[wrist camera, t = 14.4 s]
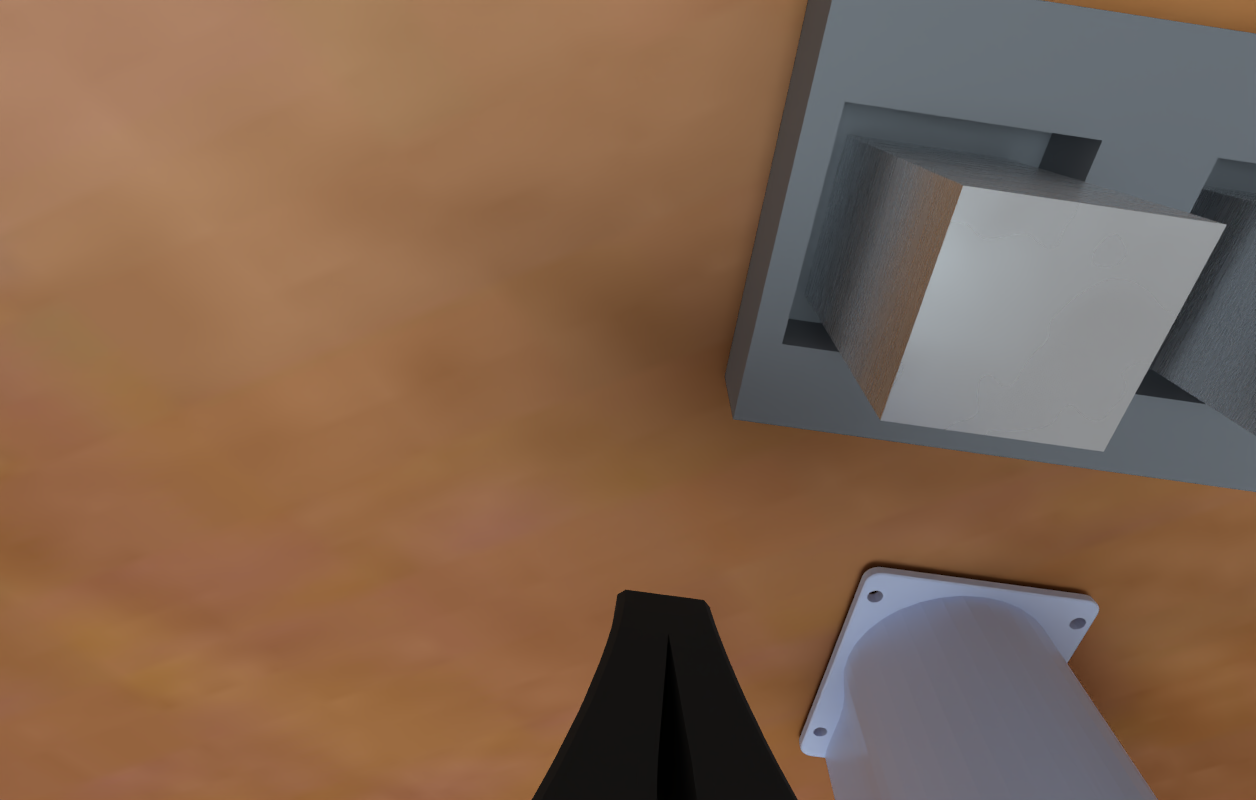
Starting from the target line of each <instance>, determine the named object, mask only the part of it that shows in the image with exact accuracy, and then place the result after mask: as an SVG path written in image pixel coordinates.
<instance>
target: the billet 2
mask: <svg viewBox="0 0 1256 800" xmlns="http://www.w3.org/2000/svg"><path fill="white" fill-rule="evenodd" d="M1190 214H1193V215H1197V216H1200V217H1203V218H1207V219H1210V220H1213V221H1217V222H1220V223H1223V224H1227V225H1226V227H1225V229H1224V231H1223V233H1222V235H1221V237H1220V238H1219V240H1218V242H1217V244H1216V246H1215V248H1214V249H1213V251H1212V253H1211V255H1210V257H1209V259H1208V260H1207V262H1206V264H1205V266H1204V268H1203V270H1202V272H1201V273H1200V275H1199V277H1198V279H1197V281H1196V283H1195V284H1194V286H1193V288H1192V290H1191V292H1190V294H1189V295H1188V297H1187V299H1186V301H1185V303H1184V305H1183V307H1182V308H1181V310H1180V312H1179V314H1178V316H1177V318H1176V319H1175V321H1174V323H1173V325H1172V327H1171V329H1170V330H1169V332H1168V334H1167V336H1166V338H1165V340H1164V341H1163V343H1162V345H1161V347H1160V349H1159V351H1158V353H1157V354H1156V356H1155V358H1154V360H1153V362H1152V364H1151V365H1150V367H1149V368H1151V369H1152V370H1154V371H1155V372H1157V373H1158V374H1160V375H1161V376H1163V377H1165V378H1166V379H1168V380H1169V381H1171V382H1172V383H1174V384H1175V385H1177V386H1179V387H1180V388H1182V389H1183V390H1185V391H1186V392H1188V393H1190V394H1191V395H1193V396H1194V397H1196V398H1197V399H1199V400H1200V401H1202V402H1204V403H1205V404H1207V405H1208V406H1210V407H1211V408H1213V409H1214V410H1216V411H1218V412H1219V413H1221V414H1222V415H1224V416H1225V417H1227V418H1229V419H1230V420H1232V421H1233V422H1235V423H1236V424H1238V425H1239V426H1241V427H1243V428H1244V429H1246V430H1247V431H1249V432H1250V433H1252V434H1253V435H1255V436H1256V194H1253V193H1246V192H1240V191H1233V190H1226V189H1219V188H1213V187H1206V186H1203V188H1202V190H1201V192H1200V194H1199V196H1198V198H1197V200H1196V202H1195V204H1194V206H1193V208H1192V210H1191V212H1190Z"/></svg>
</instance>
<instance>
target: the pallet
mask: <svg viewBox="0 0 1256 800" xmlns="http://www.w3.org/2000/svg"><path fill="white" fill-rule="evenodd" d="M846 135H850V136H857V137H863V138H870V139H877V140H884V141H890V142H897V143H904V144H910V145H917V146H924V147H931V148H937V149H944V150H951V151H957V152H964V153H971V154H977V155H984V156H991V157H998V158H1004V159H1010V160H1014V161H1017V162H1020V163H1024V164H1027V165H1030V166H1034V167H1037V168H1040V169H1044V170H1047V171H1050V172H1054V173H1057V174H1060V175H1064V176H1067V177H1070V178H1074V179H1077V180H1080V181H1084V182H1087V183H1090V184H1094V185H1097V186H1100V187H1104V188H1107V189H1110V190H1113V191H1117V192H1120V193H1123V194H1127V195H1130V196H1133V197H1137V198H1140V199H1143V200H1147V201H1150V202H1153V203H1157V204H1160V205H1163V206H1167V207H1170V208H1173V209H1177V210H1180V211H1183V212H1187V213H1190V212H1191V210H1192V208H1193V206H1194V204H1195V202H1196V200H1197V198H1198V196H1199V194H1200V192H1201V190H1202V188H1203V186H1206V187H1213V188H1219V189H1226V190H1233V191H1240V192H1246V193H1253V194H1256V34H1254V33H1248V32H1242V31H1235V30H1229V29H1222V28H1216V27H1209V26H1203V25H1196V24H1190V23H1183V22H1177V21H1170V20H1164V19H1157V18H1151V17H1145V16H1138V15H1132V14H1125V13H1119V12H1112V11H1106V10H1099V9H1093V8H1086V7H1080V6H1073V5H1067V4H1060V3H1054V2H1048V1H1041V0H808V4H807V8H806V13H805V17H804V22H803V26H802V31H801V35H800V40H799V44H798V49H797V53H796V58H795V62H794V67H793V71H792V76H791V80H790V85H789V89H788V94H787V98H786V103H785V107H784V112H783V116H782V121H781V125H780V130H779V134H778V139H777V143H776V148H775V152H774V157H773V161H772V166H771V170H770V175H769V179H768V184H767V188H766V193H765V197H764V202H763V206H762V211H761V215H760V220H759V225H758V229H757V234H756V238H755V243H754V247H753V252H752V256H751V261H750V265H749V270H748V274H747V279H746V283H745V288H744V292H743V297H742V301H741V306H740V310H739V315H738V319H737V324H736V328H735V333H734V337H733V342H732V346H731V351H730V355H729V360H728V364H727V369H726V373H725V381H726V386H727V391H728V396H729V401H730V406H731V411H732V416H733V419H735V420H742V421H750V422H757V423H764V424H771V425H778V426H786V427H793V428H800V429H807V430H814V431H822V432H829V433H836V434H843V435H850V436H857V437H865V438H872V439H879V440H886V441H893V442H901V443H908V444H915V445H922V446H929V447H937V448H944V449H951V450H958V451H965V452H972V453H980V454H987V455H994V456H1001V457H1008V458H1016V459H1023V460H1030V461H1037V462H1044V463H1052V464H1059V465H1066V466H1073V467H1080V468H1087V469H1095V470H1102V471H1109V472H1116V473H1123V474H1131V475H1138V476H1145V477H1152V478H1159V479H1167V480H1174V481H1181V482H1188V483H1195V484H1203V485H1210V486H1217V487H1224V488H1231V489H1238V490H1246V491H1253V492H1256V436H1255V435H1253V434H1252V433H1250V432H1249V431H1247V430H1246V429H1244V428H1243V427H1241V426H1239V425H1238V424H1236V423H1235V422H1233V421H1232V420H1230V419H1229V418H1227V417H1225V416H1224V415H1222V414H1221V413H1219V412H1218V411H1216V410H1214V409H1213V408H1211V407H1210V406H1208V405H1207V404H1205V403H1204V402H1202V401H1200V400H1199V399H1197V398H1196V397H1194V396H1193V395H1191V394H1190V393H1188V392H1186V391H1185V390H1183V389H1182V388H1180V387H1179V386H1177V385H1175V384H1174V383H1172V382H1171V381H1169V380H1168V379H1166V378H1165V377H1163V376H1161V375H1160V374H1158V373H1157V372H1155V371H1154V370H1152V369H1151V368H1149V369H1148V371H1147V373H1146V375H1145V376H1144V378H1143V380H1142V382H1141V384H1140V386H1139V388H1138V389H1137V391H1136V393H1135V395H1134V397H1133V399H1132V400H1131V402H1130V404H1129V406H1128V408H1127V410H1126V411H1125V413H1124V415H1123V417H1122V419H1121V421H1120V423H1119V424H1118V426H1117V428H1116V430H1115V432H1114V434H1113V435H1112V437H1111V439H1110V441H1109V443H1108V445H1107V446H1106V448H1105V450H1104V452H1102V451H1095V450H1088V449H1081V448H1073V447H1066V446H1059V445H1052V444H1045V443H1038V442H1031V441H1023V440H1016V439H1009V438H1002V437H995V436H988V435H980V434H973V433H966V432H959V431H952V430H945V429H938V428H930V427H923V426H916V425H909V424H902V423H895V422H887V421H880V419H879V417H878V416H877V414H876V412H875V411H874V409H873V407H872V406H871V404H870V402H869V401H868V399H867V397H866V396H865V394H864V392H863V391H862V389H861V387H860V386H859V384H858V382H857V381H856V379H855V377H854V376H853V374H852V372H851V371H850V369H849V367H848V366H847V364H846V362H845V361H844V359H843V357H842V356H841V354H840V352H839V351H838V349H837V347H836V346H835V344H834V342H833V341H832V339H831V337H830V336H829V334H828V332H827V331H826V329H825V327H824V326H823V324H822V322H821V321H820V319H819V317H818V316H817V314H816V312H815V311H814V309H813V307H812V306H811V304H810V302H809V301H808V299H807V297H806V296H805V294H804V293H805V289H806V285H807V282H808V278H809V274H810V270H811V267H812V263H813V259H814V255H815V252H816V248H817V244H818V240H819V236H820V233H821V229H822V225H823V221H824V218H825V214H826V210H827V206H828V203H829V199H830V195H831V191H832V188H833V184H834V180H835V176H836V173H837V169H838V165H839V161H840V158H841V154H842V150H843V146H844V143H845V139H846Z"/></svg>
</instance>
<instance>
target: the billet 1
mask: <svg viewBox="0 0 1256 800" xmlns="http://www.w3.org/2000/svg"><path fill="white" fill-rule="evenodd" d="M1226 225H1227V224H1223V223H1220V222H1217V221H1213V220H1210V219H1207V218H1203V217H1200V216H1197V215H1193V214H1190V213H1187V212H1183V211H1180V210H1177V209H1173V208H1170V207H1167V206H1163V205H1160V204H1157V203H1153V202H1150V201H1147V200H1143V199H1140V198H1137V197H1133V196H1130V195H1127V194H1123V193H1120V192H1117V191H1113V190H1110V189H1107V188H1104V187H1100V186H1097V185H1094V184H1090V183H1087V182H1084V181H1080V180H1077V179H1074V178H1070V177H1067V176H1064V175H1060V174H1057V173H1054V172H1050V171H1047V170H1044V169H1040V168H1037V167H1034V166H1030V165H1027V164H1024V163H1020V162H1017V161H1014V160H1010V159H1004V158H998V157H991V156H984V155H977V154H971V153H964V152H957V151H951V150H944V149H937V148H931V147H924V146H917V145H910V144H904V143H897V142H890V141H884V140H877V139H870V138H863V137H857V136H850V135H846V139H845V143H844V146H843V150H842V154H841V158H840V161H839V165H838V169H837V173H836V176H835V180H834V184H833V188H832V191H831V195H830V199H829V203H828V206H827V210H826V214H825V218H824V221H823V225H822V229H821V233H820V236H819V240H818V244H817V248H816V252H815V255H814V259H813V263H812V267H811V270H810V274H809V278H808V282H807V285H806V289H805V293H804V294H805V296H806V297H807V299H808V301H809V302H810V304H811V306H812V307H813V309H814V311H815V312H816V314H817V316H818V317H819V319H820V321H821V322H822V324H823V326H824V327H825V329H826V331H827V332H828V334H829V336H830V337H831V339H832V341H833V342H834V344H835V346H836V347H837V349H838V351H839V352H840V354H841V356H842V357H843V359H844V361H845V362H846V364H847V366H848V367H849V369H850V371H851V372H852V374H853V376H854V377H855V379H856V381H857V382H858V384H859V386H860V387H861V389H862V391H863V392H864V394H865V396H866V397H867V399H868V401H869V402H870V404H871V406H872V407H873V409H874V411H875V412H876V414H877V416H878V417H879V419H880V421H887V422H895V423H902V424H909V425H916V426H923V427H930V428H938V429H945V430H952V431H959V432H966V433H973V434H980V435H988V436H995V437H1002V438H1009V439H1016V440H1023V441H1031V442H1038V443H1045V444H1052V445H1059V446H1066V447H1073V448H1081V449H1088V450H1095V451H1102V452H1104V450H1105V448H1106V446H1107V445H1108V443H1109V441H1110V439H1111V437H1112V435H1113V434H1114V432H1115V430H1116V428H1117V426H1118V424H1119V423H1120V421H1121V419H1122V417H1123V415H1124V413H1125V411H1126V410H1127V408H1128V406H1129V404H1130V402H1131V400H1132V399H1133V397H1134V395H1135V393H1136V391H1137V389H1138V388H1139V386H1140V384H1141V382H1142V380H1143V378H1144V376H1145V375H1146V373H1147V371H1148V369H1149V367H1150V365H1151V364H1152V362H1153V360H1154V358H1155V356H1156V354H1157V353H1158V351H1159V349H1160V347H1161V345H1162V343H1163V341H1164V340H1165V338H1166V336H1167V334H1168V332H1169V330H1170V329H1171V327H1172V325H1173V323H1174V321H1175V319H1176V318H1177V316H1178V314H1179V312H1180V310H1181V308H1182V307H1183V305H1184V303H1185V301H1186V299H1187V297H1188V295H1189V294H1190V292H1191V290H1192V288H1193V286H1194V284H1195V283H1196V281H1197V279H1198V277H1199V275H1200V273H1201V272H1202V270H1203V268H1204V266H1205V264H1206V262H1207V260H1208V259H1209V257H1210V255H1211V253H1212V251H1213V249H1214V248H1215V246H1216V244H1217V242H1218V240H1219V238H1220V237H1221V235H1222V233H1223V231H1224V229H1225V227H1226Z"/></svg>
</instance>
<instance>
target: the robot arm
mask: <svg viewBox="0 0 1256 800" xmlns="http://www.w3.org/2000/svg"><path fill="white" fill-rule="evenodd" d="M872 591H878V592H877V593H875V594H869V593H870V592H872ZM1098 612H1099V606H1098V604H1097V603H1096V602H1095V601H1094V599H1093V598H1092V597H1091V596H1088V595H1085V594H1078V593H1071V592H1063V591H1056V590H1048V589H1041V588H1034V587H1026V586H1019V585H1011V584H1004V583H996V582H989V581H982V580H974V579H967V578H959V577H952V576H945V575H937V574H930V573H922V572H915V571H907V570H900V569H893V568H885V567H874V568H871V569H869V570H867V571H866V572H865V573H864V574H863V576H862V578H861V581H860V583H859V586H858V588H857V591H856V594H855V596H854V599H853V601H852V604H851V607H850V609H849V612H848V614H847V617H846V620H845V622H844V625H843V627H842V630H841V632H840V635H839V638H838V640H837V643H836V645H835V648H834V651H833V653H832V656H831V658H830V661H829V664H828V666H827V669H826V671H825V674H824V676H823V679H822V682H821V684H820V687H819V689H818V692H817V695H816V697H815V700H814V702H813V705H812V708H811V710H810V713H809V715H808V718H807V721H806V723H805V726H804V728H803V731H802V733H801V736H800V739H799V744H800V749H801V751H802V752H803V753H805V754H806V755H809V756H816V757H824V758H825V759H826V763H827V767H828V772H829V776H830V780H831V784H832V789H833V793H834V797H835V800H1158V799H1157V798H1156V796H1155V795H1154V793H1153V792H1152V790H1151V789H1150V787H1149V786H1148V784H1147V783H1146V781H1145V780H1144V778H1143V777H1142V775H1141V774H1140V772H1139V771H1138V769H1137V768H1136V766H1135V765H1134V763H1133V762H1132V760H1131V759H1130V757H1129V756H1128V754H1127V753H1126V751H1125V750H1124V748H1123V747H1122V745H1121V744H1120V742H1119V741H1118V739H1117V738H1116V736H1115V735H1114V733H1113V732H1112V730H1111V729H1110V727H1109V726H1108V724H1107V723H1106V721H1105V720H1104V718H1103V717H1102V715H1101V714H1100V712H1099V711H1098V709H1097V708H1096V706H1095V705H1094V703H1093V702H1092V700H1091V699H1090V697H1089V696H1088V694H1087V693H1086V691H1085V690H1084V688H1083V687H1082V685H1081V684H1080V682H1079V681H1078V679H1077V678H1076V676H1075V675H1074V673H1073V672H1072V670H1071V669H1070V667H1069V666H1068V664H1067V663H1068V661H1069V660H1070V658H1071V656H1072V655H1073V653H1074V651H1075V650H1076V648H1077V647H1078V645H1079V643H1080V642H1081V640H1082V639H1083V637H1084V635H1085V634H1086V632H1087V630H1088V629H1089V627H1090V626H1091V624H1092V622H1093V621H1094V619H1095V618H1096V616H1097V614H1098ZM532 800H797V798H796V796H795V794H794V792H793V791H792V789H791V787H790V785H789V783H788V781H787V780H786V778H785V776H784V774H783V772H782V770H781V769H780V767H779V765H778V763H777V761H776V759H775V757H774V755H773V753H772V751H771V749H770V748H769V746H768V744H767V742H766V740H765V738H764V736H763V734H762V732H761V729H760V727H759V725H758V723H757V721H756V719H755V717H754V715H753V713H752V711H751V709H750V707H749V704H748V702H747V700H746V698H745V696H744V694H743V692H742V689H741V687H740V685H739V683H738V680H737V678H736V676H735V673H734V671H733V669H732V666H731V664H730V661H729V659H728V657H727V654H726V652H725V649H724V647H723V644H722V641H721V639H720V636H719V633H718V631H717V628H716V625H715V622H714V619H713V616H712V613H711V610H710V607H709V606H708V605H707V603H706V602H705V601H704V600H699V599H691V598H684V597H676V596H669V595H661V594H654V593H646V592H638V591H631V590H625V591H623V592H621V593H619V594H618V595H617V601H616V607H615V613H614V619H613V624H612V628H611V631H610V634H609V638H608V641H607V644H606V646H605V649H604V652H603V655H602V658H601V661H600V663H599V665H598V668H597V670H596V673H595V675H594V677H593V680H592V682H591V684H590V687H589V689H588V692H587V694H586V696H585V699H584V701H583V703H582V705H581V707H580V710H579V712H578V714H577V716H576V718H575V720H574V722H573V724H572V726H571V728H570V730H569V732H568V734H567V736H566V738H565V740H564V742H563V744H562V745H561V747H560V749H559V751H558V753H557V755H556V757H555V759H554V761H553V763H552V765H551V767H550V768H549V770H548V772H547V774H546V776H545V777H544V779H543V781H542V783H541V785H540V786H539V788H538V790H537V792H536V793H535V795H534V797H533V798H532Z"/></svg>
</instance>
